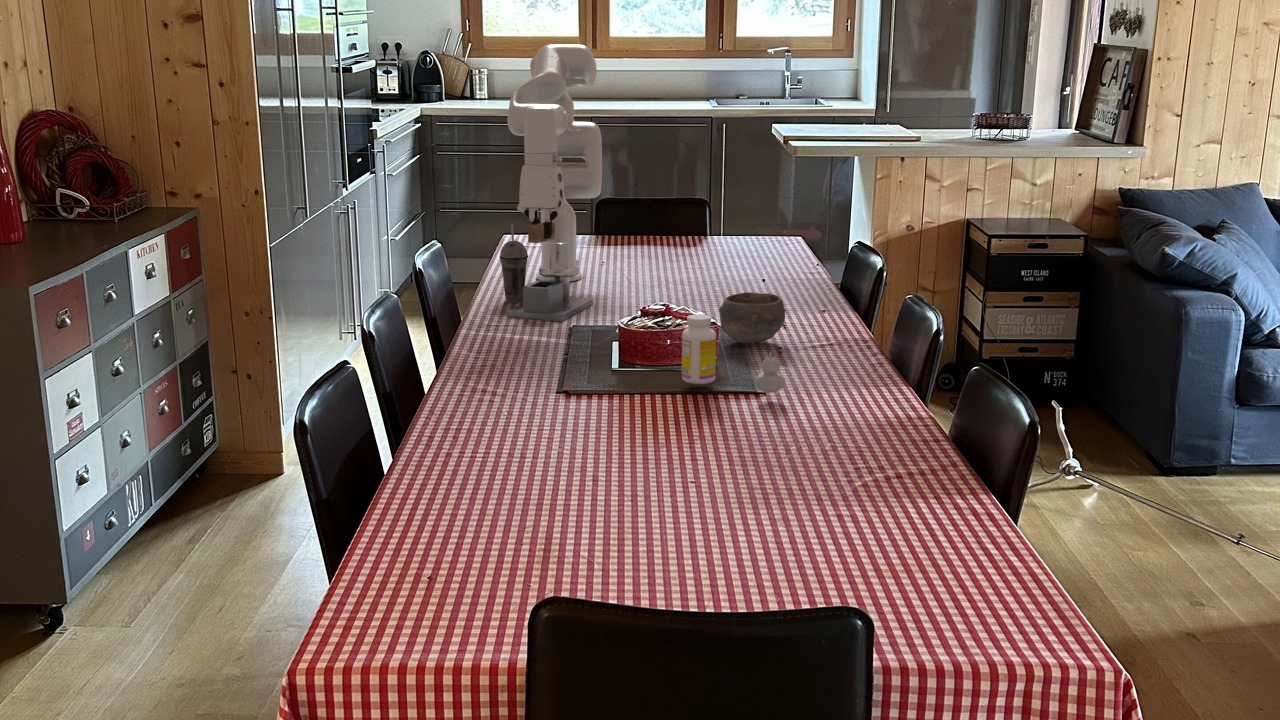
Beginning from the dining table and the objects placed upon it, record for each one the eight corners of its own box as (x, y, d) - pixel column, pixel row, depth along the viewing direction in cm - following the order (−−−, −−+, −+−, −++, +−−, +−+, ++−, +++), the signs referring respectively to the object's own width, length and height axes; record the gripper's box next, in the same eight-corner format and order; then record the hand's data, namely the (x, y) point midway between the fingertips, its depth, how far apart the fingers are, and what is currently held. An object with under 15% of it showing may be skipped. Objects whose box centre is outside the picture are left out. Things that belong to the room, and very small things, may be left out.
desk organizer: (542, 300, 311) (541, 238, 307) (593, 304, 306) (592, 241, 302) (508, 316, 293) (506, 251, 288) (562, 321, 288) (561, 254, 284)
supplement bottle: (719, 377, 242) (720, 314, 238) (710, 386, 236) (711, 321, 232) (687, 374, 244) (688, 311, 241) (677, 383, 238) (678, 319, 235)
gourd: (780, 387, 235) (782, 347, 233) (787, 397, 229) (789, 356, 227) (753, 388, 235) (754, 348, 233) (759, 398, 228) (760, 356, 226)
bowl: (792, 337, 274) (793, 293, 271) (770, 353, 261) (771, 307, 258) (734, 331, 280) (735, 288, 277) (709, 345, 266) (710, 301, 264)
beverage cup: (531, 298, 313) (530, 221, 307) (526, 304, 306) (524, 225, 300) (503, 298, 313) (501, 221, 308) (497, 304, 306) (495, 225, 301)
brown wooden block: (528, 242, 286) (545, 238, 295) (537, 243, 285) (555, 239, 294) (528, 225, 285) (545, 221, 294) (538, 226, 284) (555, 222, 293)
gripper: (578, 160, 286) (579, 237, 291) (516, 157, 291) (518, 234, 296) (565, 162, 279) (566, 242, 284) (503, 160, 284) (504, 238, 289)
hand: (542, 237), depth 290 cm, fingers closed on brown wooden block, 2 cm apart
